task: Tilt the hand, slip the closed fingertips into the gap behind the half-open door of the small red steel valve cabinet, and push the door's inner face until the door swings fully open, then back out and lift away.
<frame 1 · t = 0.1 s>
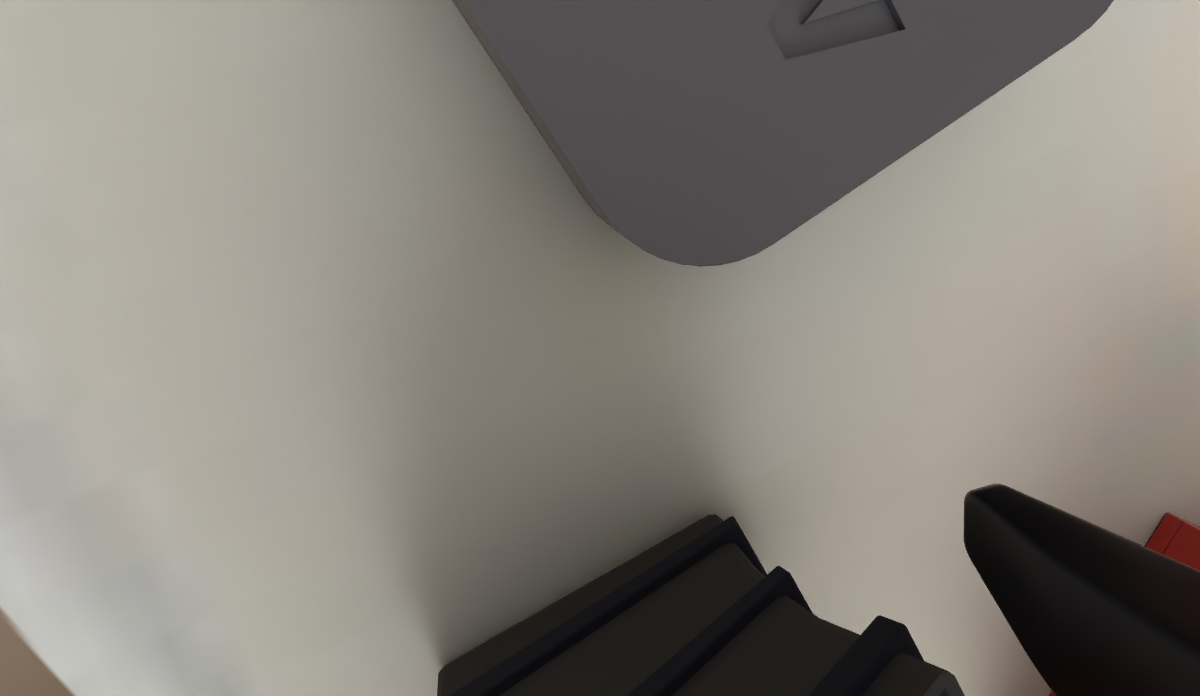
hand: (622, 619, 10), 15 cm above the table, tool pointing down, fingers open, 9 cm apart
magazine: (625, 601, 28), on the table
valve cabinet: (1169, 687, 31), on the table
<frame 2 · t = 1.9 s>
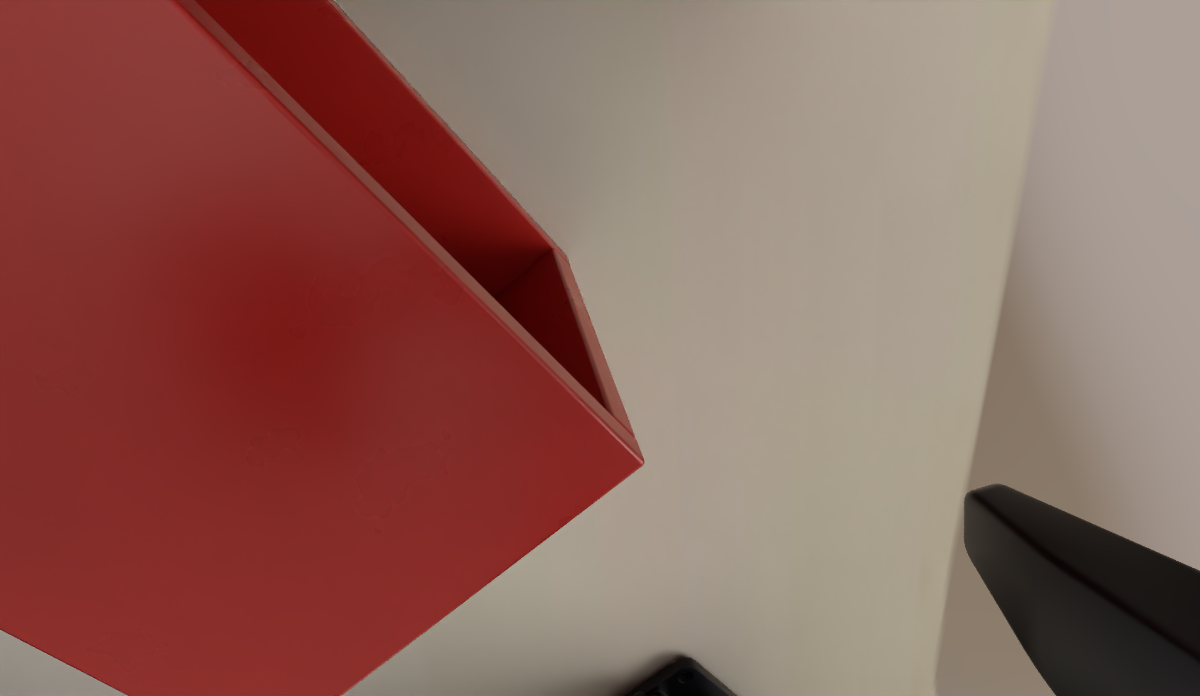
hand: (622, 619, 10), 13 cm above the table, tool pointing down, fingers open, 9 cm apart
valve cabinet: (263, 201, 19), on the table
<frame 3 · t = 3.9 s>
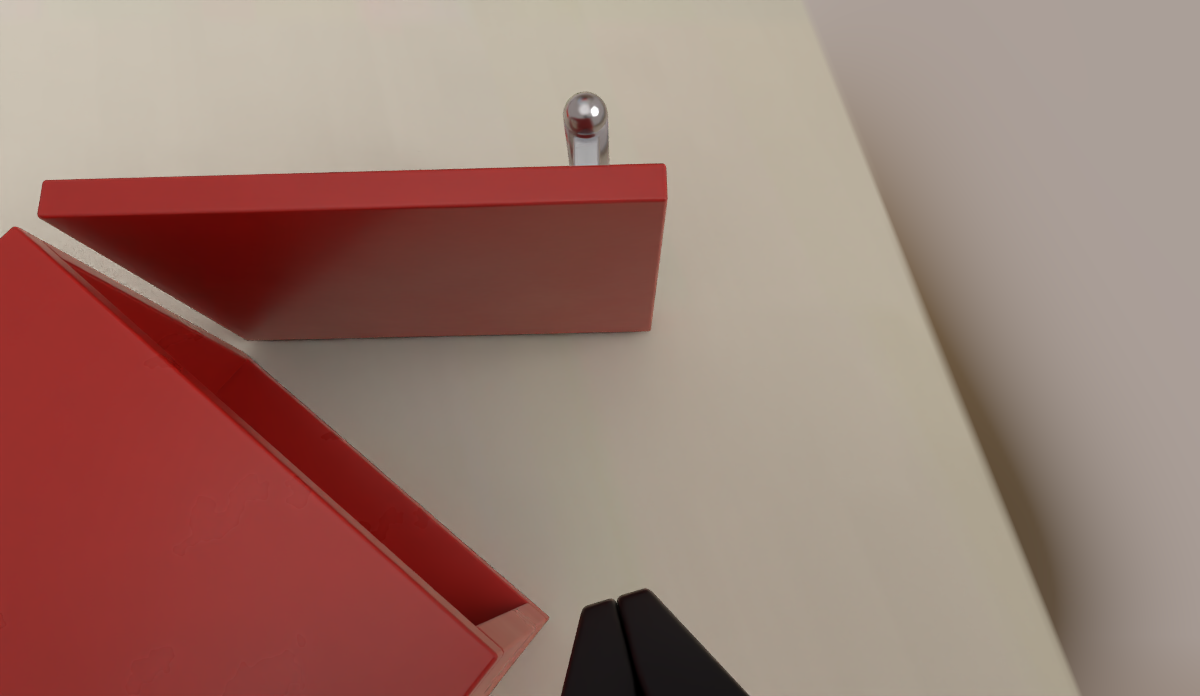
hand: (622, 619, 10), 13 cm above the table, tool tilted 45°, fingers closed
valve cabinet: (278, 606, 22), on the table
door: (412, 216, 20), point 5 cm above the table, hinge at 40.0°
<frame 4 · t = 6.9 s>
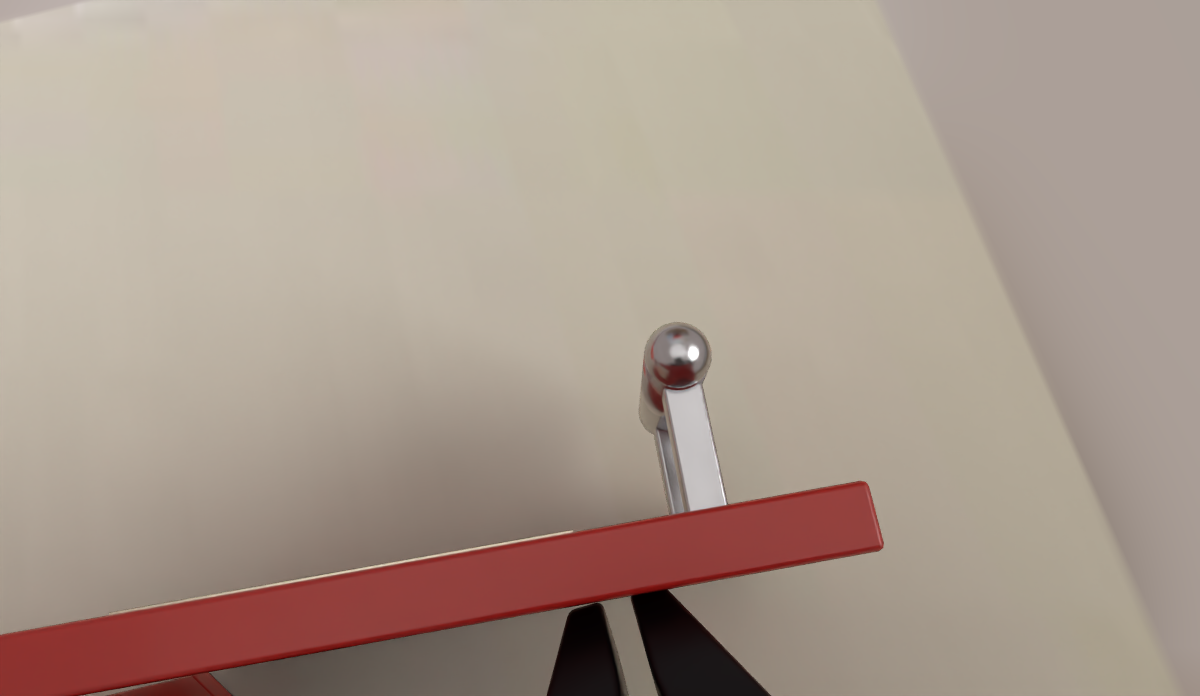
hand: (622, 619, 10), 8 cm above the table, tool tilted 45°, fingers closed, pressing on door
door: (430, 509, 14), point 5 cm above the table, hinge at 48.7°, touching gripper
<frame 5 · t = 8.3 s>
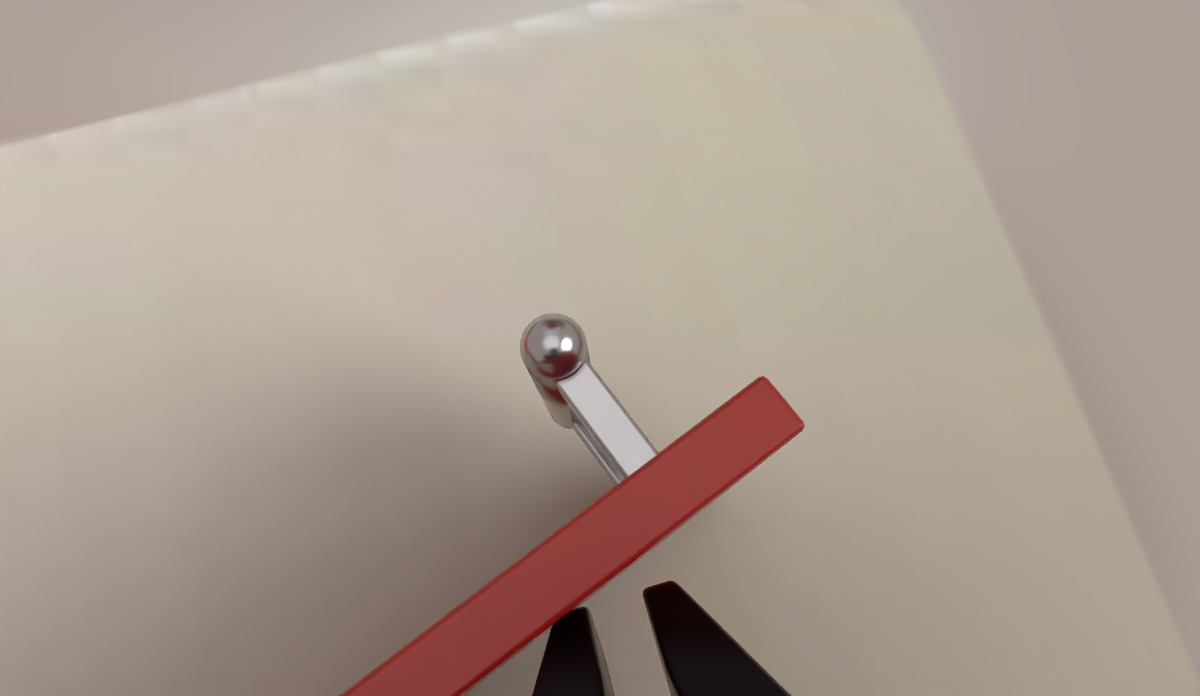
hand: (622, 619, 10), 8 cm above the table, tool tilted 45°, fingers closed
door: (397, 600, 13), point 5 cm above the table, hinge at 76.3°, touching gripper
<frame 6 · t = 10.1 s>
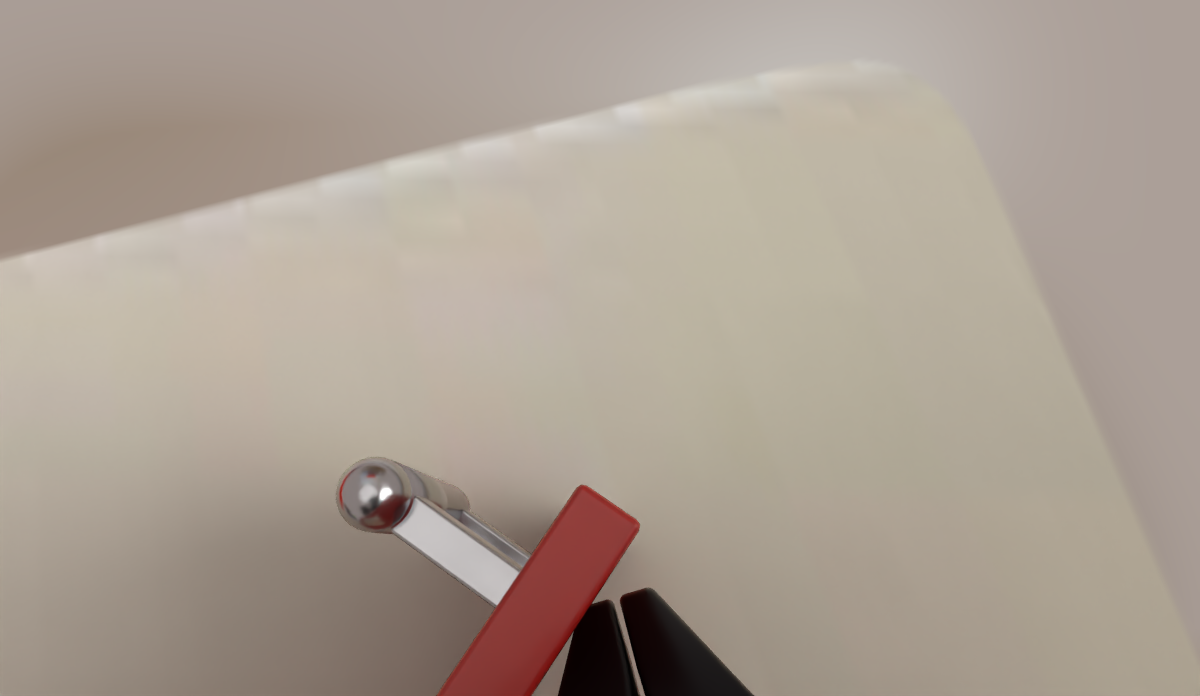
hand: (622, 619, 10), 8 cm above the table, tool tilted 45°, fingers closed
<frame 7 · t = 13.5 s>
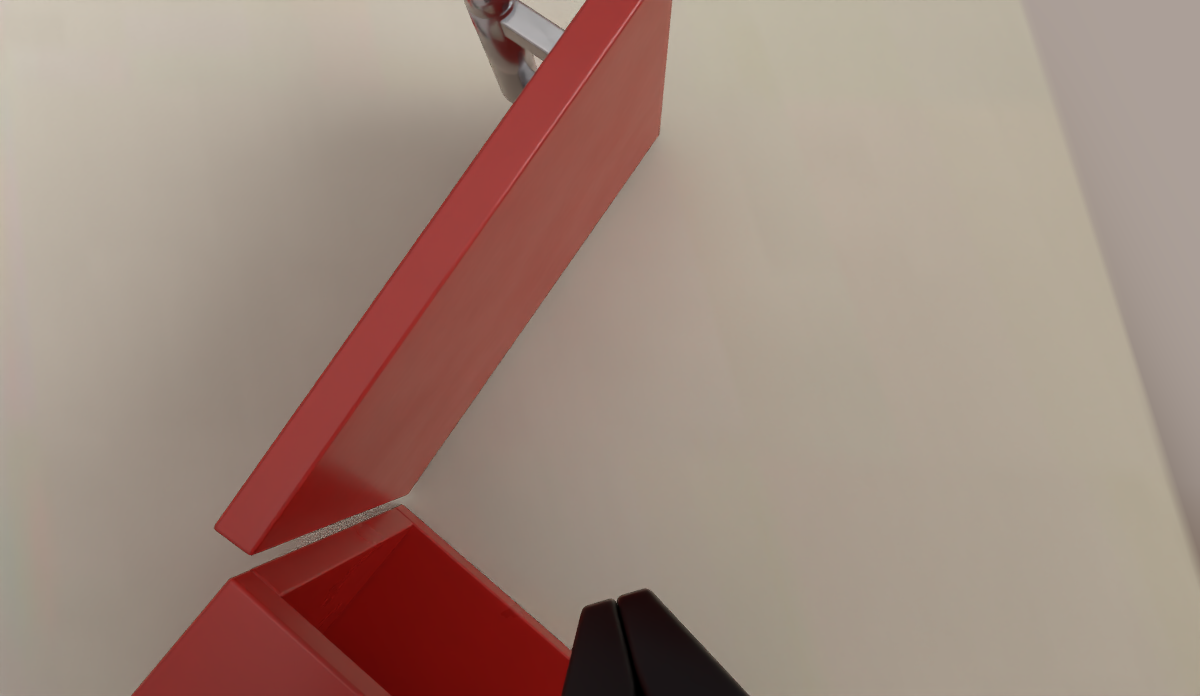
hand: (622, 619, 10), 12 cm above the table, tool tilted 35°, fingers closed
door: (440, 241, 18), point 5 cm above the table, hinge at 95.0°
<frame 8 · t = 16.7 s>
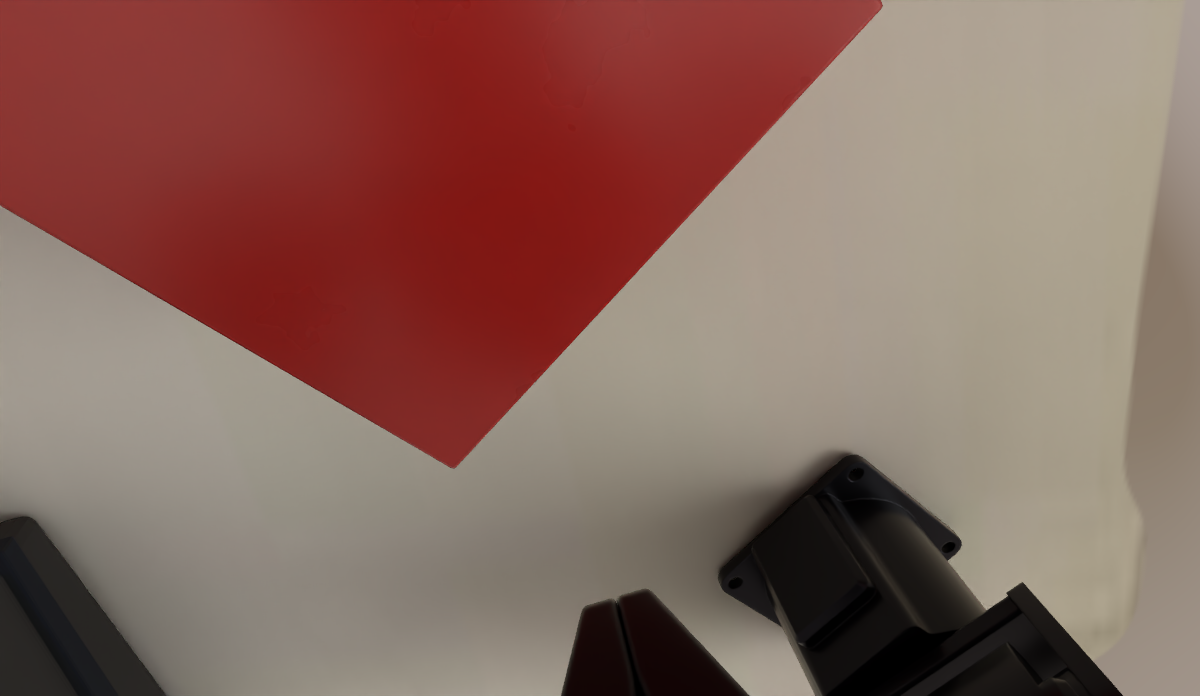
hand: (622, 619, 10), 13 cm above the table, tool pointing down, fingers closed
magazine: (63, 622, 25), on the table
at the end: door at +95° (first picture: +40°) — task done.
